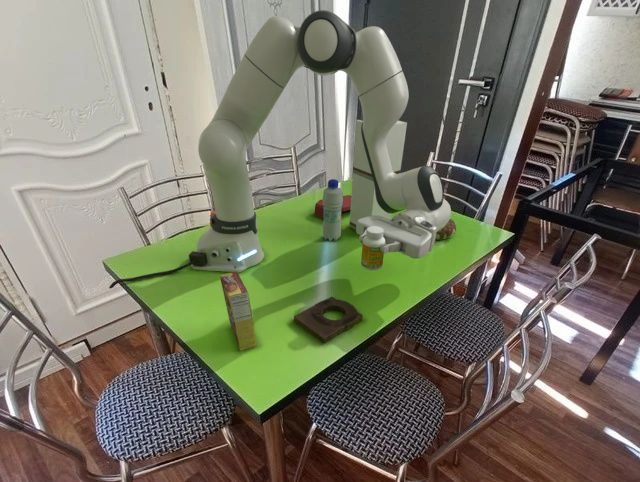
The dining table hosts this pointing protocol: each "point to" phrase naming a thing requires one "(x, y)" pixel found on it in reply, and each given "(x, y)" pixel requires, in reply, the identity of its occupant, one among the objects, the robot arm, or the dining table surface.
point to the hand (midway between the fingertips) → (371, 245)
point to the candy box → (239, 310)
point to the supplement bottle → (372, 248)
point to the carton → (320, 208)
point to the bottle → (332, 210)
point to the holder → (325, 327)
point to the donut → (446, 230)
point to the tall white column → (362, 176)
